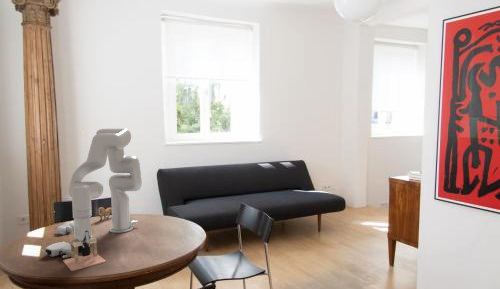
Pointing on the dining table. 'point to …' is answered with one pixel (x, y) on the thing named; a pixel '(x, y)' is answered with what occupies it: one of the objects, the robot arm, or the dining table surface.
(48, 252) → the robot toy
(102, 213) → the lion figurine
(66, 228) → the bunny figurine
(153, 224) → the dining table surface
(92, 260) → the terracotta mat
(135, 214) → the dining table surface
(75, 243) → the birch stool
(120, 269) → the dining table surface
